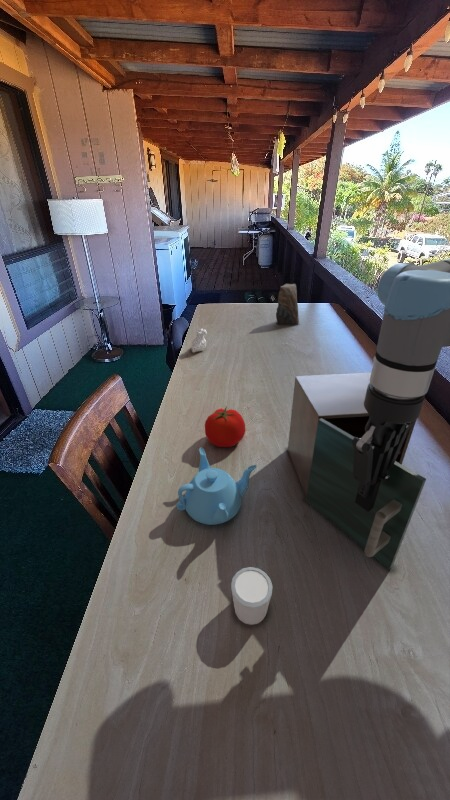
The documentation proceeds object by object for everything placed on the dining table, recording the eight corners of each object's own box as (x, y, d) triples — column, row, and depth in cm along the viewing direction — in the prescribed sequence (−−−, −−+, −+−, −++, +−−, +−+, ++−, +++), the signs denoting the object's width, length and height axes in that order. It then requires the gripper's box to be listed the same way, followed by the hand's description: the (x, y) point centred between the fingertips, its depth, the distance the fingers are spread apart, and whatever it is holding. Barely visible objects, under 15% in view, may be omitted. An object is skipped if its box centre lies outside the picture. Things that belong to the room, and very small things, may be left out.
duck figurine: (196, 359, 157) (210, 341, 152) (183, 349, 156) (197, 330, 150) (203, 349, 167) (216, 332, 162) (190, 339, 166) (203, 322, 160)
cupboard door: (370, 588, 64) (402, 497, 52) (287, 512, 79) (297, 429, 67) (391, 568, 68) (426, 478, 56) (308, 499, 83) (321, 417, 71)
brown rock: (275, 325, 191) (277, 287, 180) (274, 318, 201) (276, 282, 191) (298, 325, 190) (302, 288, 179) (296, 318, 200) (300, 282, 190)
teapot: (168, 515, 79) (163, 482, 74) (204, 475, 90) (202, 443, 85) (224, 543, 73) (224, 509, 68) (255, 495, 84) (257, 463, 79)
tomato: (236, 426, 109) (236, 398, 104) (251, 448, 100) (252, 418, 94) (199, 435, 105) (197, 406, 100) (212, 458, 96) (210, 427, 91)
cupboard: (392, 491, 85) (419, 409, 73) (306, 498, 83) (318, 416, 71) (361, 445, 100) (379, 371, 88) (287, 450, 99) (295, 376, 86)
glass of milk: (222, 608, 61) (222, 585, 58) (249, 582, 66) (250, 559, 62) (252, 639, 57) (253, 616, 54) (278, 609, 61) (281, 585, 58)
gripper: (398, 366, 55) (368, 477, 67) (345, 390, 49) (322, 508, 61) (446, 384, 50) (404, 501, 62) (394, 414, 43) (358, 538, 56)
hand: (363, 504), depth 61 cm, fingers closed
